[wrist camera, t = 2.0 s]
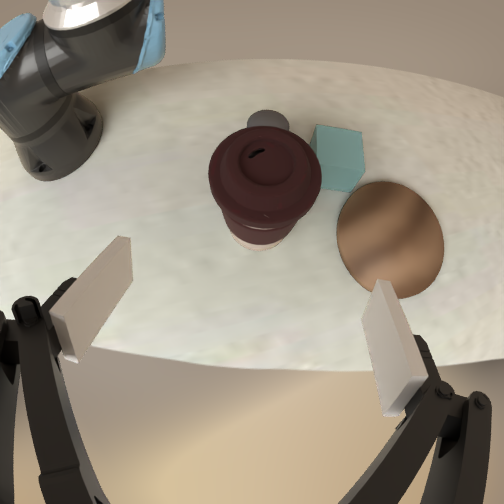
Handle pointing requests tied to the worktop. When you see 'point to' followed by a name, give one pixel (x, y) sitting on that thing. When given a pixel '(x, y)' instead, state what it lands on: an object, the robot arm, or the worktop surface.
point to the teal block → (339, 157)
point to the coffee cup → (263, 183)
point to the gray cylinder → (268, 119)
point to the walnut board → (390, 238)
